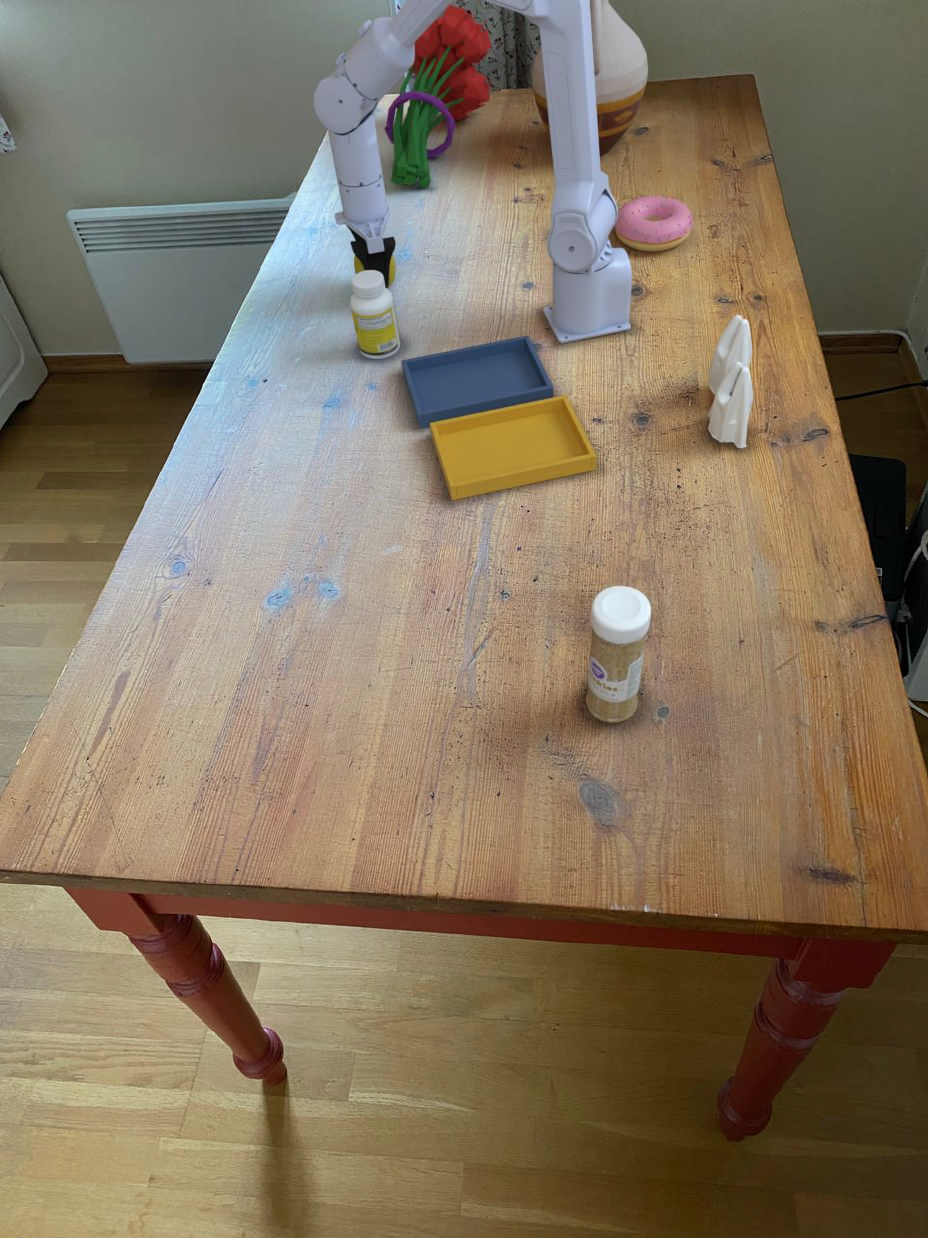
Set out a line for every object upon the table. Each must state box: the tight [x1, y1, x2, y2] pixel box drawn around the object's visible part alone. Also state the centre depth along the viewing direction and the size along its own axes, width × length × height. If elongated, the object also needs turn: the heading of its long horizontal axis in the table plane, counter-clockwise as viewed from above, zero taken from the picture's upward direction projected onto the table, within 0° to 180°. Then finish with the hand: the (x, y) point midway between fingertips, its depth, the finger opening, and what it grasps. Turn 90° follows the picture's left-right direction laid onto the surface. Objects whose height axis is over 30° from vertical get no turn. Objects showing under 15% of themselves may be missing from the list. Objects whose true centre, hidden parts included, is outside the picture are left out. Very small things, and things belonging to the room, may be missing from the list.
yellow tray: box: [429, 394, 597, 501], centre depth 99 cm, size 16×11×2 cm
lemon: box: [353, 254, 397, 289], centre depth 120 cm, size 6×6×8 cm
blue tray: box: [400, 334, 554, 429], centre depth 107 cm, size 16×11×2 cm
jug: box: [531, 0, 649, 157], centre depth 134 cm, size 20×18×30 cm
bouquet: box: [384, 4, 493, 189], centre depth 144 cm, size 20×16×30 cm
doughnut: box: [614, 194, 694, 252], centre depth 125 cm, size 11×11×4 cm
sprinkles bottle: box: [585, 585, 652, 724], centre depth 73 cm, size 5×5×13 cm
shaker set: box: [707, 314, 754, 449], centre depth 97 cm, size 12×4×11 cm, turn 171°
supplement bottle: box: [349, 270, 401, 360], centre depth 111 cm, size 5×5×10 cm
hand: (376, 277), depth 121 cm, fingers closed on lemon, 5 cm apart
